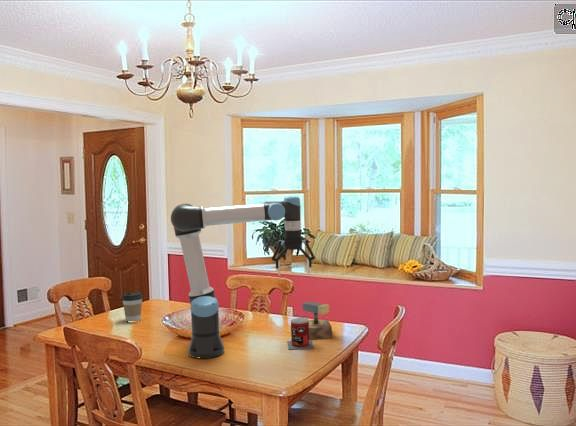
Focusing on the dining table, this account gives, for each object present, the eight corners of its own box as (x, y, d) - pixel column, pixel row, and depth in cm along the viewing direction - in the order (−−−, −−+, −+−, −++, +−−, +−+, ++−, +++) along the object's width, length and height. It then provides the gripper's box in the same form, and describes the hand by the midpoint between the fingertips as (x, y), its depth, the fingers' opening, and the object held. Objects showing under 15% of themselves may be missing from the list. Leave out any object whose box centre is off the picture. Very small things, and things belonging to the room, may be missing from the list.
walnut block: (304, 339, 232) (303, 327, 232) (301, 330, 245) (301, 320, 245) (331, 337, 233) (331, 326, 233) (328, 329, 246) (327, 318, 246)
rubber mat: (288, 349, 218) (288, 349, 218) (287, 341, 229) (287, 341, 229) (313, 348, 219) (313, 347, 218) (311, 340, 229) (311, 339, 229)
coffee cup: (128, 318, 279) (126, 291, 278) (147, 318, 277) (146, 291, 276) (118, 323, 267) (117, 296, 267) (138, 324, 266) (137, 296, 265)
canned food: (287, 344, 223) (287, 320, 223) (299, 340, 229) (299, 316, 229) (300, 348, 218) (300, 323, 217) (312, 343, 224) (312, 319, 223)
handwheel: (303, 321, 241) (302, 303, 241) (310, 319, 245) (309, 301, 244) (322, 326, 233) (321, 307, 232) (329, 323, 236) (329, 304, 236)
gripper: (266, 231, 230) (267, 277, 232) (320, 229, 231) (321, 275, 233) (266, 229, 238) (267, 274, 239) (318, 228, 239) (319, 272, 240)
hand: (293, 274), depth 236 cm, fingers open, 13 cm apart
